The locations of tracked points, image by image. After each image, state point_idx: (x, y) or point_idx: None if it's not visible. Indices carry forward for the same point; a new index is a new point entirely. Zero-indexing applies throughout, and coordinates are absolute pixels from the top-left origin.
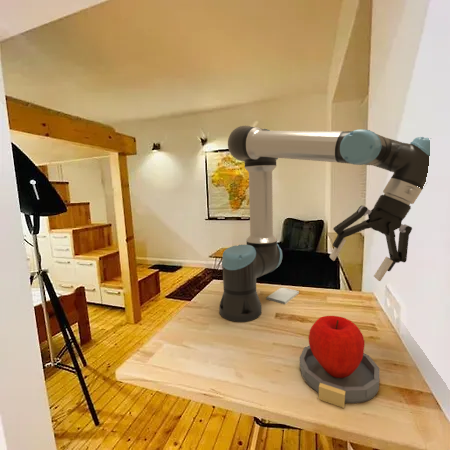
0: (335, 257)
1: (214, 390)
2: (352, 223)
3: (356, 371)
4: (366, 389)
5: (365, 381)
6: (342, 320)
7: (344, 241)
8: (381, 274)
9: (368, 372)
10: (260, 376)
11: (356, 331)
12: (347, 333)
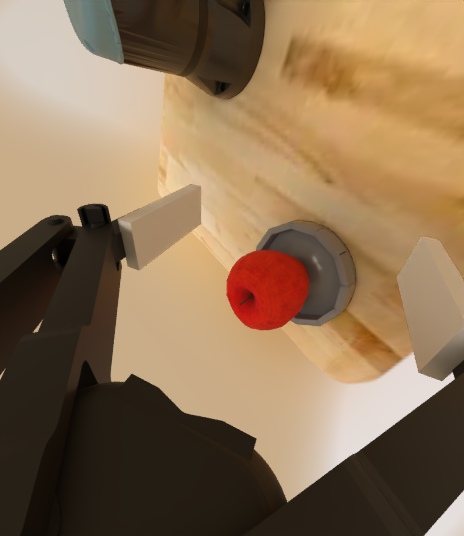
0: (191, 228)
1: (203, 239)
2: (36, 326)
3: (322, 286)
4: (297, 323)
5: (320, 304)
6: (256, 296)
7: (141, 264)
8: (401, 297)
9: (337, 295)
10: (232, 238)
11: (259, 327)
12: (245, 324)
